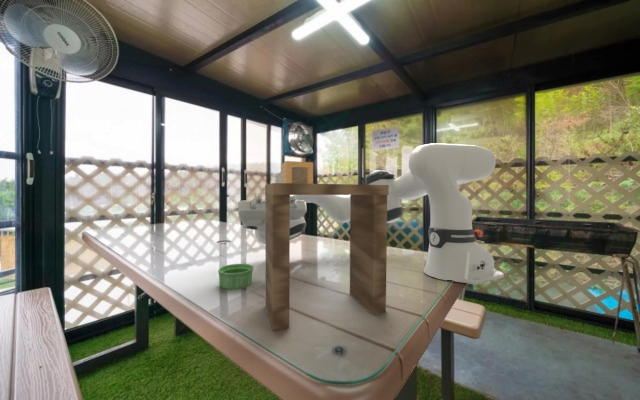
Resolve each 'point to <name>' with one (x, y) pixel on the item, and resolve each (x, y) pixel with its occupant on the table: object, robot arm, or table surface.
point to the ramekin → (235, 276)
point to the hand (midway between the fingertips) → (276, 197)
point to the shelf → (364, 244)
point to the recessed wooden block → (295, 173)
